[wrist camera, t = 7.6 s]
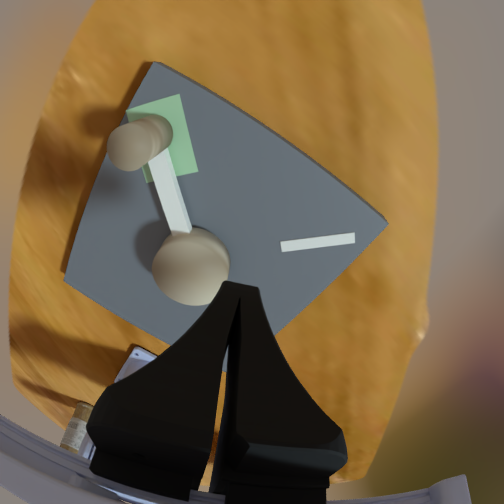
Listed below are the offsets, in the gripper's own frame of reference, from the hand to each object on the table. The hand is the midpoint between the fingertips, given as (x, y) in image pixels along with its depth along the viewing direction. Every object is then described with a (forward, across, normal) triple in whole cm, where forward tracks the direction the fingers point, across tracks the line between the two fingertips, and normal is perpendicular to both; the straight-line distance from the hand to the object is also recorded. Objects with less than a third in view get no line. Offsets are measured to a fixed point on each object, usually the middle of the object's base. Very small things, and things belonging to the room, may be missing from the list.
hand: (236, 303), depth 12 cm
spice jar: (+11, +19, +39) cm, 45 cm away
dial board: (+10, +3, +4) cm, 12 cm away
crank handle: (+9, +5, +1) cm, 10 cm away
